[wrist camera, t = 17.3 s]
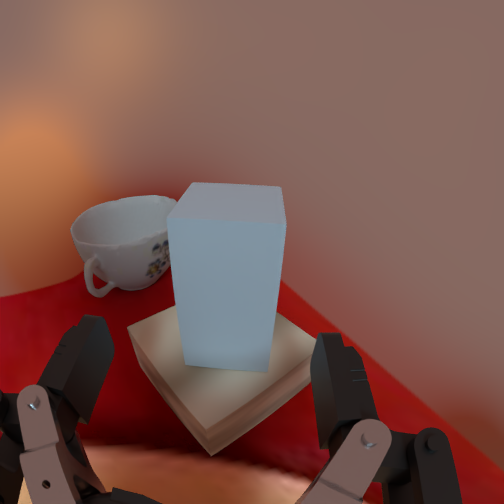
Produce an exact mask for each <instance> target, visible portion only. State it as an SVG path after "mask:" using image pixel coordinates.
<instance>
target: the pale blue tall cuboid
mask: <svg viewBox="0 0 504 504" xmlns="http://www.w3.org/2000/svg"><path fill="white" fill-rule="evenodd" d="M166 219H167V231H168V242H169V252H170V262H171V271H172V279H173V288H174V295H175V303H176V310H177V317H178V324H179V330H180V337H181V343H182V349H183V355H184V360H185V365H190V366H199V367H208V368H218V369H229V370H242V371H258V372H268V366H269V359H270V352H271V345H272V338H273V331H274V323H275V316H276V308H277V301H278V293H279V285H280V277H281V268H282V260H283V252H284V242H285V234H286V225H287V224H286V217H285V210H284V203H283V197H282V191H281V187H274V186H258V185H243V184H221V183H192V184H191V185H190V187H189V188H188V189H187V190H186V192H185V193H184V195H183V196H182V197H181V199H180V200H179V201H178V203H177V204H176V205H175V207H174V208H173V209H172V211H171V212H170V213H169V215H168V216H167V218H166Z"/></svg>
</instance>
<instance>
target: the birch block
mask: <svg viewBox="0 0 504 504" xmlns="http://www.w3.org/2000/svg"><path fill="white" fill-rule="evenodd" d="M127 329H128V332H129V335H130V338H131V341H132V344H133V347H134V350H135V353H136V356H137V359H138V362H139V365H140V367H141V368H142V369H143V371H144V372H145V374H146V375H147V377H148V378H149V380H150V381H151V382H152V384H153V385H154V386H155V388H156V389H157V391H158V392H159V393H160V395H161V396H162V397H163V399H164V400H165V401H166V403H167V404H168V405H169V407H170V408H171V409H172V410H173V412H174V413H175V414H176V415H177V417H178V418H179V419H180V420H181V422H182V423H183V424H184V425H185V427H186V428H187V429H188V430H189V431H190V433H191V434H192V435H193V436H194V437H195V438H196V440H197V441H198V442H199V443H200V444H201V445H202V446H203V447H204V449H205V450H206V451H207V452H208V453H209V454H210V455H211V456H212V455H214V454H215V453H217V452H218V451H220V450H222V449H223V448H225V447H226V446H228V445H229V444H230V443H232V442H233V441H235V440H236V439H238V438H239V437H241V436H242V435H243V434H245V433H246V432H248V431H249V430H250V429H252V428H253V427H255V426H256V425H257V424H259V423H260V422H261V421H263V420H264V419H265V418H267V417H268V416H269V415H271V414H272V413H273V412H274V411H276V410H277V409H278V408H280V407H281V406H282V405H283V404H285V403H286V402H287V401H288V400H290V399H291V398H292V397H293V396H295V395H296V394H297V393H298V392H299V391H301V390H302V389H303V388H304V387H305V386H306V385H308V384H309V383H310V382H311V376H310V362H311V357H312V354H313V350H314V347H315V343H316V339H314V338H313V337H311V336H310V335H309V334H307V333H306V332H304V331H303V330H301V329H300V328H299V327H297V326H296V325H294V324H293V323H292V322H290V321H289V320H287V319H286V318H285V317H283V316H282V315H280V314H279V313H278V312H276V316H275V323H274V331H273V338H272V345H271V352H270V359H269V366H268V372H258V371H242V370H229V369H218V368H208V367H199V366H190V365H185V360H184V355H183V349H182V343H181V337H180V330H179V324H178V317H177V310H176V305H175V306H173V307H170V308H168V309H166V310H164V311H162V312H159V313H157V314H155V315H153V316H150V317H148V318H146V319H144V320H142V321H139V322H137V323H135V324H133V325H130V326H128V327H127Z"/></svg>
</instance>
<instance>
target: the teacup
mask: <svg viewBox="0 0 504 504" xmlns="http://www.w3.org/2000/svg"><path fill="white" fill-rule="evenodd" d="M176 204H177V202H176V201H175V200H174V199H169V198H168V197H164V196H158V195H150V196H135V197H128V198H123V199H120V200H117V201H109V202H106V203H102V204H99V205H96V206H94V207H92V208H90V209H89V210H87V211H85V212H83V213H82V214H81V215H80V216H79V217H78V218H77V219H76V220H75V221H74V222H73V224H72V227H71V230H70V232H71V235H72V239H73V242H74V245H75V247H76V249H77V251H78V253H79V255H80V257H81V258H82V260H83V262H84V263H85V265H84V278H85V282H86V286H87V289H88V291H89V293H91V294H92V295H93V296H95V297H103V296H105V295H106V294H107V293H108V292H109V291H110V290H111V289H112V288H114V287H119V288H120V289H123V290H130V291H134V290H141V289H144V288H147V287H149V286H150V285H152V284H154V283H155V282H156V281H157V280H158V279H159V277H160V276H161V275H162V274H163V273H164V272H165V271H166V270H167V269H168V267H169V266H170V264H171V262H170V252H169V242H168V231H167V219H166V218H167V216H168V215H169V213H170V212H171V211H172V209H173V208H174V207H175V205H176ZM93 273H94V274H95V275H96V276H97V277H99V278H100V279H102V280H103V281H105V282H107V283H108V284H107V285H106V286H105V287H103V288H101V289H96V288H95V287H94V285H93V280H92V279H93Z"/></svg>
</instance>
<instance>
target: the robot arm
mask: <svg viewBox="0 0 504 504" xmlns="http://www.w3.org/2000/svg"><path fill="white" fill-rule="evenodd" d="M113 357H114V343H113V340H112V338H111V335H110V332H109V330H108V327H107V324H106V321H105V319H104V318H103V317H100V316H93V315H84V316H83V317H82V319H81V320H80V322H79V324H78V325H77V326H73V327H71V328H70V329H69V330H68V331H67V332H66V333H65V334H64V335H63V337H62V339H61V340H60V342H59V346H57V347H56V349H55V351H54V354H53V355H52V356H51V358H50V360H49V362H48V364H47V366H46V367H45V369H44V371H43V373H42V375H41V377H40V379H39V381H38V383H37V384H36V385H30V386H27V387H25V388H24V389H23V390H22V391H21V392H20V394H17V393H3V392H2V391H1V390H0V430H1V431H2V432H3V435H2V437H1V440H0V504H18V499H19V495H20V490H21V486H22V482H23V478H25V481H26V485H27V488H28V491H29V494H30V497H31V500H32V503H33V504H162V503H159V502H157V501H155V500H153V499H150V498H148V497H146V496H144V495H141V494H137V493H133V492H129V491H125V490H121V489H118V488H114V487H113V489H112V492H106V490H105V488H104V486H103V484H102V483H101V481H100V479H99V478H98V477H97V475H96V474H95V473H94V471H93V469H92V467H91V465H90V463H89V460H88V458H87V455H86V453H85V450H84V447H83V445H82V442H81V439H80V436H79V434H78V431H77V429H76V426H77V423H78V422H81V423H84V424H87V425H88V423H89V420H90V417H91V414H92V411H93V409H94V406H95V403H96V400H97V398H98V395H99V392H100V390H101V387H102V385H103V382H104V380H105V377H106V374H107V372H108V369H109V367H110V365H111V362H112V360H113ZM310 376H311V383H312V390H313V398H314V405H315V413H316V421H317V429H318V437H319V446H320V449H329V454H330V458H329V459H328V461H327V462H326V464H325V465H324V466H323V468H322V469H321V471H320V472H319V473H318V475H317V476H316V477H315V479H314V480H313V481H312V483H311V484H310V485H309V487H308V488H307V489H306V491H305V492H304V493H303V494H302V496H301V497H300V498H299V499H298V500H297V501H296V502H295V504H362V502H363V500H362V497H363V495H364V493H365V491H366V490H367V488H368V486H369V485H370V483H371V481H372V482H380V483H381V484H382V494H383V504H462V498H461V493H460V488H459V483H458V478H457V473H456V469H455V464H454V460H453V456H452V452H451V448H450V444H449V441H448V438H447V436H446V435H445V433H443V432H442V431H441V430H439V429H437V428H426V429H423V430H422V431H420V432H419V433H418V434H408V433H401V432H395V431H392V430H390V429H388V427H387V426H386V425H385V424H384V423H382V422H381V421H380V420H379V418H378V415H377V411H376V408H375V404H374V400H373V396H372V393H371V389H370V385H369V382H368V381H367V375H366V371H365V368H364V365H363V361H362V358H361V356H360V355H359V354H358V352H357V351H356V350H355V349H354V347H353V346H350V347H344V344H343V340H342V337H341V334H340V333H319V334H318V336H317V340H316V343H315V347H314V350H313V354H312V357H311V362H310Z"/></svg>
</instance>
